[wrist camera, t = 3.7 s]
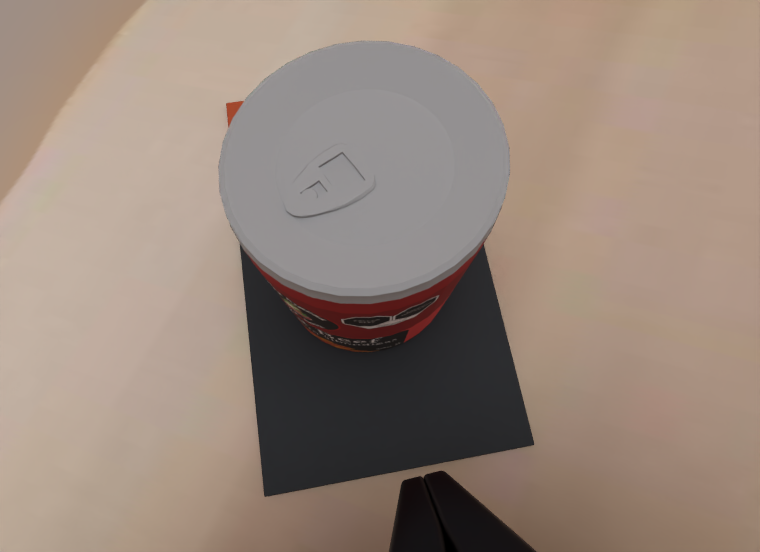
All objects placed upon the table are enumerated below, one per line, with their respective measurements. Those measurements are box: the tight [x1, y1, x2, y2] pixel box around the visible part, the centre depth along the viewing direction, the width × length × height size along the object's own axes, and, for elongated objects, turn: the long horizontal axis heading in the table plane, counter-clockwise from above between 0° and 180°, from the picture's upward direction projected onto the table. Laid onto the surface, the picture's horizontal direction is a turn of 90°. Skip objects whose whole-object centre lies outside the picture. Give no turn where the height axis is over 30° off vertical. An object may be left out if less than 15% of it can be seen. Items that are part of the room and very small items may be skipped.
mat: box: [240, 244, 534, 497], centre depth 22 cm, size 13×12×1 cm
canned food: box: [219, 41, 510, 352], centre depth 18 cm, size 8×8×11 cm
